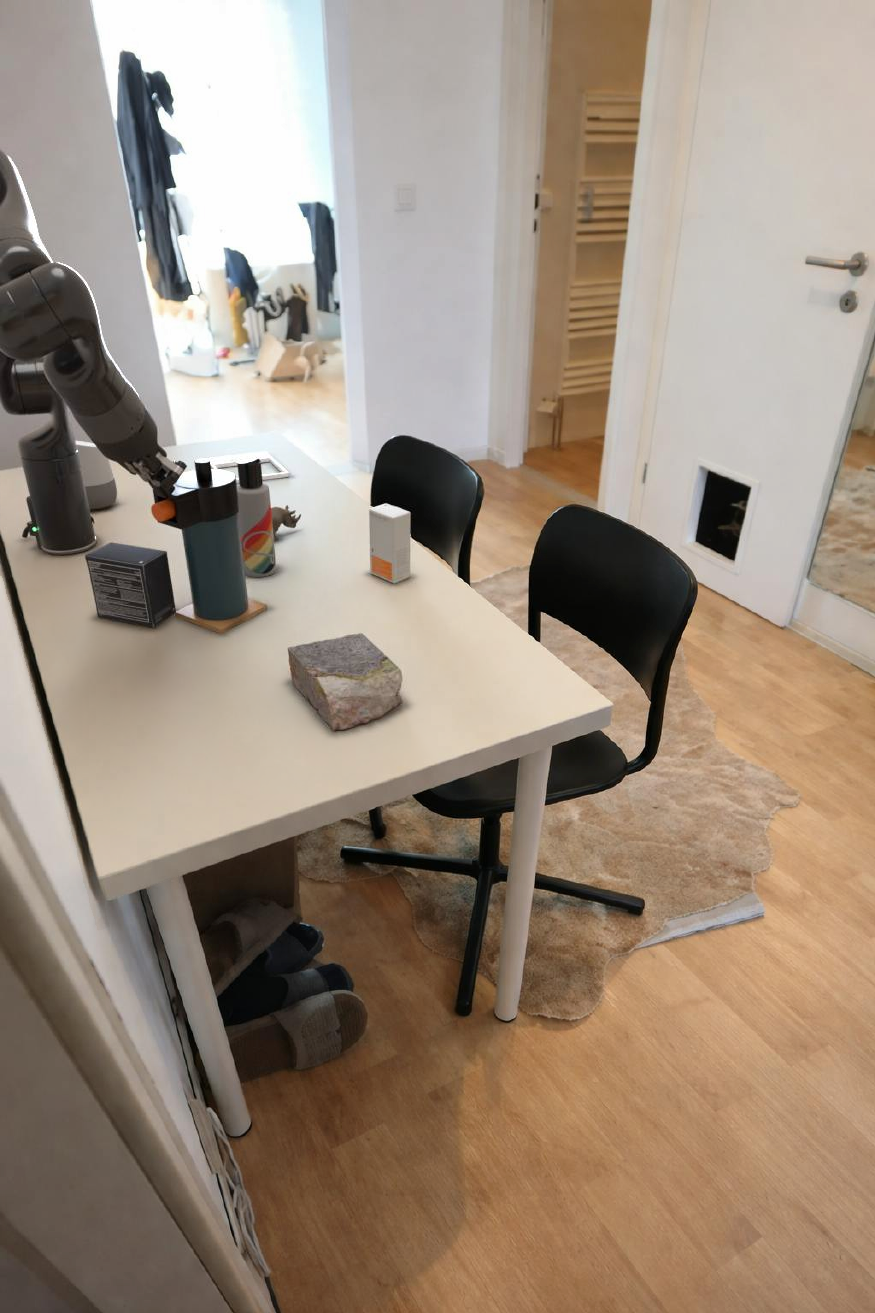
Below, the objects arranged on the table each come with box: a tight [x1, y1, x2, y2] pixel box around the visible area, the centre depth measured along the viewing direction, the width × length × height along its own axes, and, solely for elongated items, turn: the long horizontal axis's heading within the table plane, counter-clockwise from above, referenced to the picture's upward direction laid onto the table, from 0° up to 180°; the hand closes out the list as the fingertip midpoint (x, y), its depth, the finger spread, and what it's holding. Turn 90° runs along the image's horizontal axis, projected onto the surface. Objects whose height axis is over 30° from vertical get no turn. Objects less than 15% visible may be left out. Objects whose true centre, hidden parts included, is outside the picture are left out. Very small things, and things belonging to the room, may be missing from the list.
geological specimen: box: [287, 632, 403, 731], centre depth 109 cm, size 11×6×15 cm
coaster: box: [174, 597, 268, 635], centre depth 130 cm, size 10×10×1 cm
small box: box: [84, 542, 177, 629], centre depth 126 cm, size 11×6×10 cm, turn 71°
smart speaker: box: [75, 440, 118, 512], centre depth 166 cm, size 10×9×14 cm
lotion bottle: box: [237, 457, 277, 578], centre depth 139 cm, size 6×6×20 cm
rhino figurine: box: [271, 504, 302, 542], centre depth 155 cm, size 4×14×6 cm, turn 131°
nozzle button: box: [150, 499, 176, 522], centre depth 115 cm, size 3×3×3 cm
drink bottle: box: [152, 457, 249, 620], centre depth 122 cm, size 12×9×24 cm
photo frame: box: [206, 451, 290, 484], centre depth 191 cm, size 15×1×18 cm
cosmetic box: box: [368, 502, 412, 585], centre depth 140 cm, size 6×4×12 cm
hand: (166, 491), depth 113 cm, fingers closed
